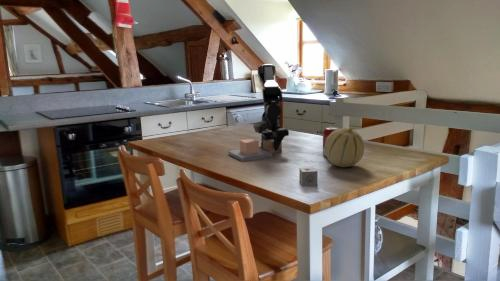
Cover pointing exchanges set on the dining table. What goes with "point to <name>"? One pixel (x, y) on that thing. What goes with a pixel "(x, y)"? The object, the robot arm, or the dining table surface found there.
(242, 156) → the base board
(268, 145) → the walnut brick
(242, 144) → the terracotta brick
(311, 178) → the grey cube
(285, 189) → the dining table surface
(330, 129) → the soda can
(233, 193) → the dining table surface
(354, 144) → the cantaloupe
